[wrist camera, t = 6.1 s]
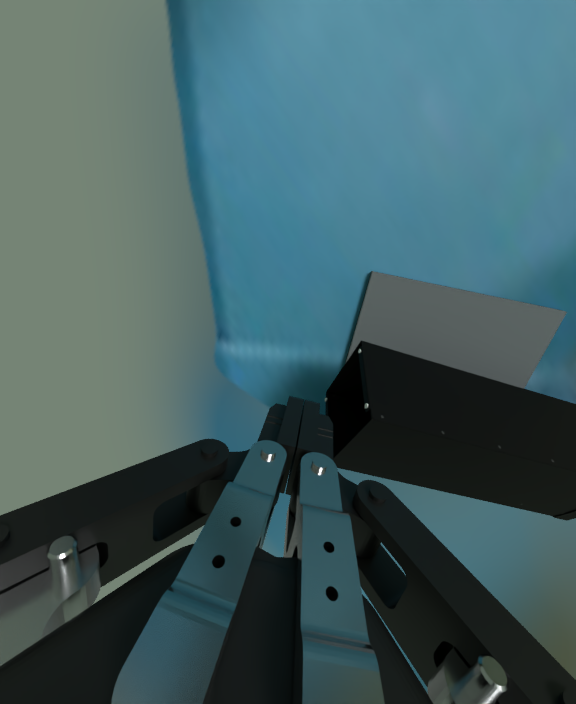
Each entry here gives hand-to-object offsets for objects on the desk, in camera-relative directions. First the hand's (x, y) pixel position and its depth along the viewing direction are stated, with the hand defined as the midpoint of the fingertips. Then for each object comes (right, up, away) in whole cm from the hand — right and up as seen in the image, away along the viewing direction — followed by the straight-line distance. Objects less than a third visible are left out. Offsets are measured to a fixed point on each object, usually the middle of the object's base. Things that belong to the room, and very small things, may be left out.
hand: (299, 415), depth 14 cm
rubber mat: (+16, +4, +17) cm, 23 cm away
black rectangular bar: (+4, -1, +10) cm, 11 cm away
